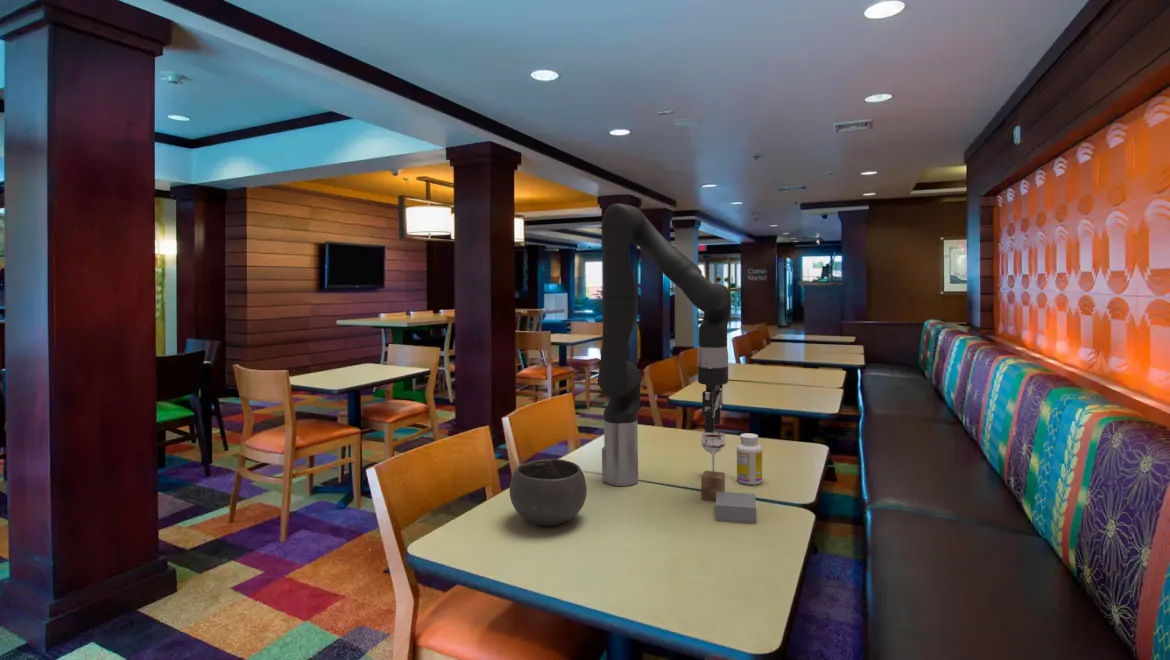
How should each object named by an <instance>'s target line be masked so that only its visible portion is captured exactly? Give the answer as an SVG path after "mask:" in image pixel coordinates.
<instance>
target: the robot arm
mask: <svg viewBox="0 0 1170 660" xmlns="http://www.w3.org/2000/svg"><path fill="white" fill-rule="evenodd" d="M602 216H603V217H602V221H601V222H602V223H601V225H602V226H601V227H602V229H601V230H602V242H603V255H604V260H603V261H604V264H603V293H602V294H603V296H602V338H601V339H602V341H601V345H602V346H601V353H600V361H599V362H600V363H599V369H598V377H597V378H598V386H599V388H600V391H601V393H603V394H604V396H606V397H608V402H607V405H606V407H605V408H604V409H603V435H604V437H603V439H604V440H603V441H604V443H603V444H604V446H603V447H602V448H601V474H602V475H601V477H602V478H601V480H602V483H606V484H608V485H611V486H617V487H627V486H633V485H636V484H637V483H638V482H639V446H638V445H639V437H638V436H639V435H638V434H639V433H638V432H639V431H638V430H639V429H638V413H639V411H640V406H641V405H640V404H641V376H640V372H639V370H638V367H637V366H636V365H635V364H634V363H633V362H631V361H629V360H628V348H629V347H628V346H629V343H630V338H631V335H632V332H633V330H634V328H635V327H634V326H635V323H636V320H637V315H638V301H639V300H638V297H639V296H638V295H639V293H638V292H639V291H638V290H639V289H638V285H637V280H636V277H635V275H634V271H633V267H632V265H631V264H632V263H631V258H630V254H631V253H630V252H631V251H630V250H631V247H630V246H631V243H632V244H634V245H636V246H637V247H639V248H640V249H642V251H644V252H645V253H646V254H647V255H648V256H649V257H650V258H651V260H652V261H653V262H654V264H655V265H656V266H657V268H658V270H659V271H660V272H661V273H663V275H664V276H665V277H666V278H668V280H669V281H671V283H673V284H674V285H675V286H676V287H678V288H679V289H681V291H682V292H683V293H684V295H685V296H686V298H687V299H689V301H690V302H691V303H692V305H693V306H695V307H696V308H697V310H700V311H701V312H703V318H702V319H703V321H702V322H701V324H699V327H698V349H697V383H698V384H700V385H704V386H705V390H703V391H702V393H701V395H702V397H701V398H702V399H701V400H702V402H701V403H702V404H701V406H702V409H701V411H702V412H701V416H702V417H704V432H708V433H713V432H714V431H715V425H720V424H721V410H722V408H723V407H722V406H723V405H724V402H723V400H724V399H723V385H724V386H725V385H726V384H728V383H729V351H728V325H729V322H730V321H729V320H730V315H731V308H732V296H731V293H730V291H729V289H728V288H727V286H725V285H723V284H720V283H712V282H711V281H710V280H708V279H707V278H706V277H705V276H704V275H703V273H702V272H703V271H702V270H701V268H700V266H698V265H697V264H695V263H694V262H693V261H692V260H691V259H689V257H687V256H686V255H685V254H684V253H682V252H681V251H680V250H679V249H678V248H677V247H675V245H673V244H671V243H670V241H668V239H666V238H665V237H664V236H663V235H662V234H661V233H660V232H659V231H658V230H657V229H656V227H655V226H654V225H653V224H652V223H651V221H650V220H649V219H648V218H647V217H646V215H645V214H644V213H643V212H642V211H641V210H640V209H639V208H638V207H636V206H633V205H629V204H624V203H613V204H611V205H609V206H608V207H607V209H606V210H605V211H604V213H603V215H602ZM709 410H710V411H709Z"/></svg>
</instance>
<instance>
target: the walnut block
mask: <svg viewBox="0 0 1170 660" xmlns="http://www.w3.org/2000/svg"><path fill="white" fill-rule="evenodd" d="M725 474H726V473H725V472H720V471H714V472H713V471H711V470H705V471H704V472H703V473H702V475H701V476H700V498H701V499H700V500H702V501H707V502H708V501H709V502H714V503H716V493H717V491H718V492H726V485H725V483H726V481H725V480H726V478H725V476H726V475H725Z"/></svg>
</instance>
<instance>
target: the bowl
mask: <svg viewBox="0 0 1170 660" xmlns="http://www.w3.org/2000/svg"><path fill="white" fill-rule="evenodd" d="M509 483H510V484H509V497H510V501H511V505H512V506H513V508H514V510H515V511H516V512H517V514H518V515H520V516H521V518H523V519H524V520H526V521H528V522H529V523H532V524H535V525H538V526H546V527H547V526H548V527H549V526H556V525H560V524H563V523H565V522H567V521H569V520H571V519H572V518H574V517H576V515H578V513H579V512H580V511H581V510H582V508H583V506H584V505H585V502H586V498H587V494H588V493H587V491H588V490H587V489H588V488H587V483H586V477H585V475H584V472H583V470H582V468H581V467H580V466H579V465H578V464H576V463H575V462H573V461H568V460H566V459H559V458H551V459H549V458H548V459H538V460H537V459H536V460H533V461H528V462H526V463H520V464H519V465H518V466H517V467H516V468H515V469H514V472H513V473H512V477H511V479H510V482H509Z"/></svg>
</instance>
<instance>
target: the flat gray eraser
mask: <svg viewBox="0 0 1170 660" xmlns="http://www.w3.org/2000/svg"><path fill="white" fill-rule="evenodd" d="M756 502H757V501H756V494H755V493H747V492H746V493H745V492H744V493H743V492H733V491H731V492H729V491H725V492H718V491H717V493H716V502H715V508H714V509H715V514H714V515H715V519H714V520H715V521H717V522H725V523H726V522H727V523H729V522H730V523H740V524H741V523H742V524H755V525H756V524H757V503H756Z"/></svg>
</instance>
